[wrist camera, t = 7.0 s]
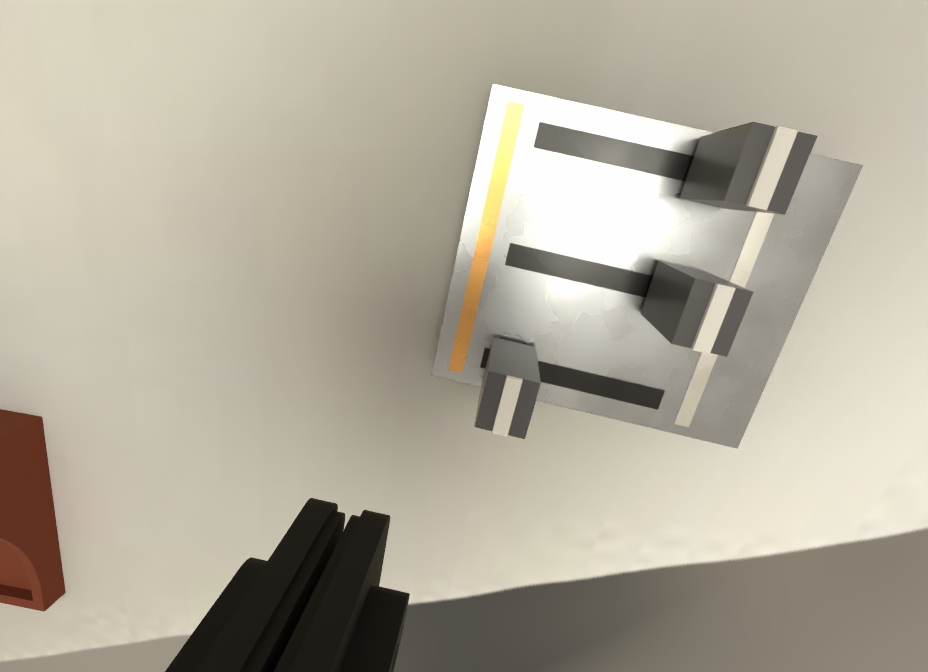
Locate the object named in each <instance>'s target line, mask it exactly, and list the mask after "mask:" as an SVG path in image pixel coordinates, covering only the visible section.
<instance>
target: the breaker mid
mask: <svg viewBox="0 0 928 672" xmlns="http://www.w3.org/2000/svg"><path fill="white" fill-rule="evenodd" d="M752 295H753V291H750V290H748V289H746V288H743V287H741V286H739V285H736V284H734V283H732V282H729V281H727V280H725V279H722V278H720V277H718V276H715V275H713V274H711V273H708V272H706V271H702V270H698V269H694V268H689V267H685V266H681V265H676V264H672V263H667V262H663V261H659V260H658V263H657V266H656V269H655V272H654V275H653V278H652V281H651V284H650V287H649V290H648V293H647V295H646V298H645V301H644V304H643V307H642V310H641V313H640V314H641V315H642V316H643V317H644V318H645V319H646V320H647V321H648V322H649V323H650V324H651V325H652V326H654V327H655V328H656V329H657V330H658V331H659V332H660V333H661V334H662V335H663V336H664V337H665V338H666V339H667V340H668V341H669V342H670V343H671V344H674V345H678V346H683V347H687V348H691V349H692V350H694V351H698V352H703V353H707V354H710V353H712V354H717V355H721V356H725V357H727V356H728V353H729V351H730V349H731V346H732V344H733V341H734V339H735V336H736V334H737V331H738V329H739V327H740V324H741V322H742V319H743V317H744V314H745V312H746V309H747V307H748V305H749V302H750V300H751V297H752Z"/></svg>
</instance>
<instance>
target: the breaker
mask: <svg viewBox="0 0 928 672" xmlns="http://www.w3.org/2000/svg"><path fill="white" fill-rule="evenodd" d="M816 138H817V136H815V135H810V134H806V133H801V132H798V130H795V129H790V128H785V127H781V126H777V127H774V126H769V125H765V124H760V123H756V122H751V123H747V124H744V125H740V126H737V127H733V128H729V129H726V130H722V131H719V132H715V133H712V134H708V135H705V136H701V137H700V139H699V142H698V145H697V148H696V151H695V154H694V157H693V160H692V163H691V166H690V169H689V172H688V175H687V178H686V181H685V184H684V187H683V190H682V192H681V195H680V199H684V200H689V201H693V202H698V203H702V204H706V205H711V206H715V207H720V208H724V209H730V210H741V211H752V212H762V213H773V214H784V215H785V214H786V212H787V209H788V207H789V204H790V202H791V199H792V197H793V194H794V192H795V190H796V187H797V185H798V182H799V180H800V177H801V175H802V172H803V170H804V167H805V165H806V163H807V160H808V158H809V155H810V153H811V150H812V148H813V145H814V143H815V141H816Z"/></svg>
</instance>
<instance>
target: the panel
mask: <svg viewBox="0 0 928 672" xmlns="http://www.w3.org/2000/svg"><path fill="white" fill-rule="evenodd" d="M712 133H714V132H709V131H705V130H700V129H696V128H691V127H687V126H682V125H678V124H673V123H668V122H664V121H659V120H655V119H650V118H646V117H641V116H637V115H632V114H628V113H623V112H619V111H614V110H610V109H605V108H600V107H596V106H591V105H587V104H582V103H578V102H573V101H569V100H564V99H560V98H555V97H551V96H546V95H542V94H537V93H532V92H528V91H523V90H519V89H514V88H510V87H505V86H501V85H496V84H492V89H491V94H490V99H489V103H488V108H487V113H486V118H485V122H484V127H483V132H482V137H481V141H480V146H479V151H478V156H477V160H476V165H475V170H474V175H473V179H472V184H471V189H470V194H469V198H468V203H467V208H466V213H465V217H464V222H463V227H462V232H461V236H460V241H459V246H458V251H457V255H456V260H455V265H454V270H453V274H452V279H451V284H450V289H449V293H448V298H447V303H446V308H445V312H444V317H443V322H442V327H441V331H440V336H439V341H438V346H437V350H436V355H435V360H434V365H433V369H432V374H431V375H433V376H437V377H441V378H445V379H449V380H454V381H458V382H462V383H466V384H470V385H474V386H479V387H481V384H482V380H483V376H484V372H485V368H486V364H487V360H488V356H489V352H490V348H491V344H492V340H493V337H496V338H500V339H504V340H509V341H513V342H517V343H521V344H526V345H530V346H534V347H536V353H537V360H538V367H539V374H540V381H541V384H540V388H539V391H538V395H537V398H536V400H537V401H541V402H545V403H550V404H554V405H558V406H562V407H566V408H570V409H575V410H579V411H583V412H587V413H591V414H596V415H600V416H604V417H608V418H612V419H616V420H621V421H625V422H629V423H633V424H637V425H641V426H646V427H650V428H654V429H658V430H662V431H666V432H671V433H675V434H679V435H683V436H687V437H692V438H696V439H700V440H704V441H708V442H712V443H717V444H721V445H725V446H729V447H733V448H738V446H739V444H740V442H741V439H742V437H743V435H744V433H745V430H746V428H747V426H748V424H749V421H750V419H751V417H752V414H753V412H754V410H755V408H756V405H757V403H758V401H759V399H760V396H761V394H762V392H763V390H764V387H765V385H766V383H767V381H768V378H769V376H770V374H771V372H772V369H773V367H774V365H775V363H776V360H777V358H778V356H779V354H780V351H781V349H782V347H783V345H784V342H785V340H786V338H787V336H788V333H789V331H790V329H791V326H792V324H793V322H794V320H795V317H796V315H797V313H798V311H799V308H800V306H801V304H802V302H803V299H804V297H805V295H806V293H807V290H808V288H809V286H810V284H811V281H812V279H813V277H814V275H815V272H816V270H817V268H818V266H819V263H820V261H821V259H822V257H823V254H824V252H825V250H826V248H827V245H828V243H829V241H830V239H831V236H832V234H833V232H834V229H835V227H836V225H837V223H838V220H839V218H840V216H841V214H842V211H843V209H844V207H845V205H846V202H847V200H848V198H849V196H850V193H851V191H852V189H853V187H854V184H855V182H856V180H857V178H858V175H859V173H860V171H861V169H862V166H863V165H859V164H854V163H850V162H845V161H841V160H836V159H832V158H827V157H823V156H818V155H814V154H810V155H809V158H808V160H807V163H806V165H805V167H804V170H803V172H802V175H801V177H800V180H799V182H798V185H797V187H796V190H795V192H794V194H793V197H792V199H791V202H790V204H789V207H788V209H787V212H786V214H785V215H784V214H773V213H762V212H752V211H741V210H730V209H724V208H720V207H715V206H711V205H706V204H702V203H698V202H693V201H689V200H684V199H680V195H681V192H682V190H683V187H684V184H685V181H686V178H687V175H688V172H689V169H690V166H691V163H692V160H693V157H694V154H695V151H696V148H697V145H698V142H699V139H700V137H701V136H705V135H708V134H712ZM658 260H659V261H663V262H667V263H672V264H676V265H681V266H685V267H689V268H694V269H698V270H702V271H706V272H708V273H711V274H713V275H715V276H718V277H720V278H722V279H725V280H727V281H729V282H732V283H734V284H736V285H739V286H741V287H743V288H746V289H748V290H750V291H753V295H752V297H751V300H750V302H749V305H748V307H747V309H746V312H745V314H744V317H743V319H742V322H741V324H740V327H739V329H738V331H737V334H736V336H735V339H734V341H733V344H732V346H731V349H730V351H729V353H728V356H727V357H725V356H721V355H717V354H712V353H710V354H707V353H703V352H698V351H694V350H692V349H691V348H687V347H683V346H678V345H674V344H671V343H670V342H669V341H668V340H667V339H666V338H665V337H664V336H663V335H662V334H661V333H660V332H659V331H658V330H657V329H656V328H655V327H654V326H652V325H651V324H650V323H649V322H648V321H647V320H646V319H645V318H644V317H643V316H642V315H641V314H640V313H641V310H642V307H643V304H644V301H645V298H646V295H647V293H648V290H649V287H650V284H651V281H652V278H653V275H654V272H655V269H656V266H657V263H658Z"/></svg>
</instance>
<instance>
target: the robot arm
mask: <svg viewBox="0 0 928 672" xmlns="http://www.w3.org/2000/svg"><path fill="white" fill-rule="evenodd" d="M337 510H338V507H337V504H336V503H331V502H327V501H322V500H318V499H313V498H310V499H309V500H308V501H307V502H306V504H305V505H304V507H303V508H302V510H301V512H300V513H299V515H298V516H297V518H296V519H295V521H294V522H293V524H292V525H291V527H290V528H289V530H288V531H287V533H286V534H285V536H284V537H283V539H282V540H281V542H280V543H279V545H278V546H277V548H276V549H275V551H274V552H273V554H272V555H271V557H270V558H269V560H268V561H265V560H260V559H256V558H249V559H248V560H246V561H245V562H244V564H243V565H242V566H241V567H240V569H239V570H238V571H237V573H236V574H235V576H234V577H233V578H232V580H231V581H230V582H229V584H228V585H227V587H226V588H225V589H224V591H223V592H222V594H221V595H220V596H219V598H218V599H217V600H216V602H215V603H214V605H213V606H212V607H211V609H210V610H209V612H208V613H207V614H206V616H205V617H204V618H203V620H202V621H201V623H200V624H199V625H198V627H197V628H196V629H195V631H194V632H193V634H192V635H191V636H190V638H189V639H188V641H187V642H186V643H185V645H184V646H183V648H182V649H181V650H180V652H179V653H178V654H177V656H176V657H175V659H174V660H173V661H172V663H171V664H170V665H169V667H168V668H167V670H166V671H165V672H393V671H394V667H395V662H396V658H397V654H398V650H399V645H400V641H401V636H402V631H403V626H404V622H405V616H406V611H407V606H408V601H409V595H410V594H409V593H405V592H400V591H396V590H392V589H387V588H383V587H379V583H380V577H381V571H382V565H383V559H384V553H385V547H386V541H387V535H388V529H389V523H390V516H389V515H385V514H380V513H376V512H371V511H367V510H364V511H363V512H362V514H361V516H360V517H359V516H355V515H352V516H351V517H350V519H349V521H348V523H347V525H346V527H345V529H344V522H345V513H341V512H337ZM343 530H344V531H343Z"/></svg>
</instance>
